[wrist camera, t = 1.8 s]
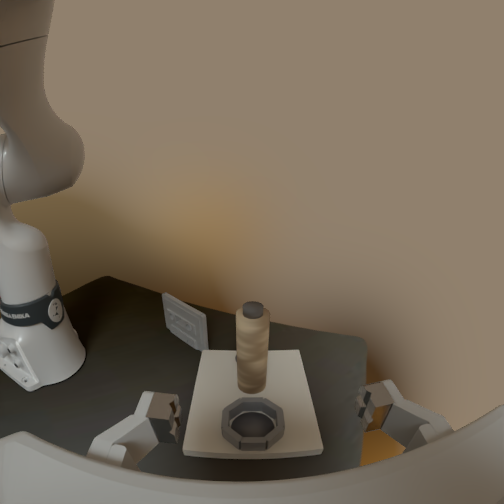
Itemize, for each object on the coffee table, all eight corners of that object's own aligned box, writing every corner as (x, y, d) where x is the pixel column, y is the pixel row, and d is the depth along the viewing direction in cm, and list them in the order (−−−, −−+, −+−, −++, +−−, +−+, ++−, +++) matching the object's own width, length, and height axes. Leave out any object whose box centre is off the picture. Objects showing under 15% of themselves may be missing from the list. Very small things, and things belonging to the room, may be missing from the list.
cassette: (211, 350, 45) (208, 313, 43) (203, 355, 44) (199, 318, 41) (171, 324, 52) (167, 290, 50) (164, 328, 51) (159, 293, 49)
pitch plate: (184, 455, 24) (168, 409, 21) (203, 354, 44) (199, 307, 41) (320, 454, 24) (339, 408, 22) (297, 354, 44) (303, 307, 41)
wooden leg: (237, 394, 33) (235, 315, 29) (237, 375, 37) (236, 298, 33) (266, 393, 33) (271, 314, 29) (265, 375, 37) (269, 298, 33)
